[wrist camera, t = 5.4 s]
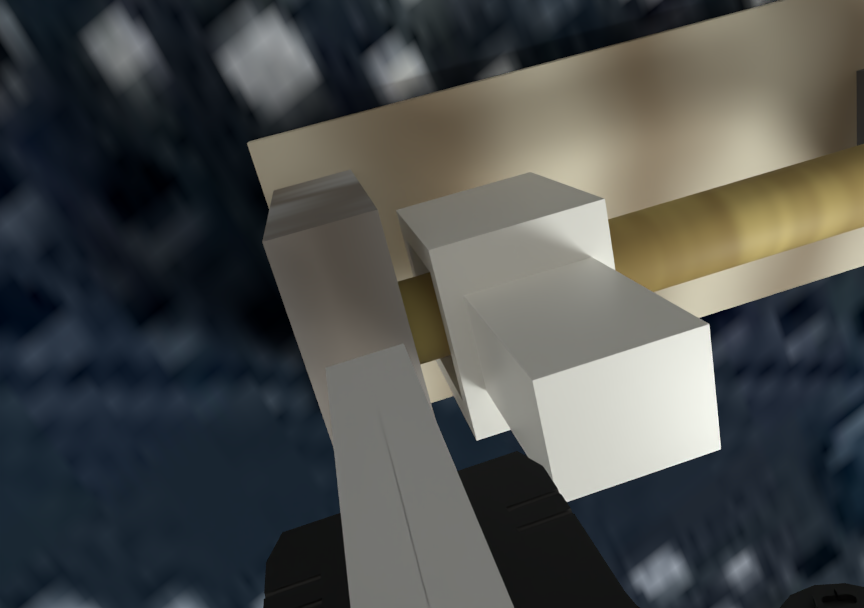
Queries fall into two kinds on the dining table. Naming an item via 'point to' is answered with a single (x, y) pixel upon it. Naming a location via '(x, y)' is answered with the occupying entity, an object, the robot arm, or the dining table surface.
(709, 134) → the lead screw slide rig
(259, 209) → the dining table surface
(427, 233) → the sleeve
